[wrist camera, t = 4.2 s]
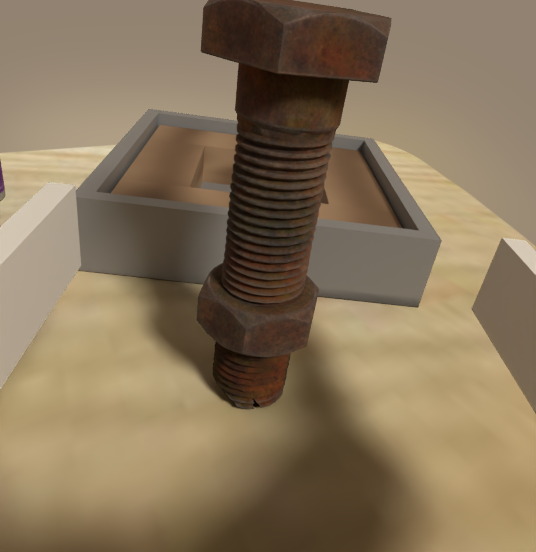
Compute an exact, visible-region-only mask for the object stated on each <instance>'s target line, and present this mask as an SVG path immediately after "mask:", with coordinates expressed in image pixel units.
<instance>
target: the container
mask: <svg viewBox="0 0 536 552" xmlns="http://www.w3.org/2000/svg"><path fill="white" fill-rule="evenodd" d="M4 196H5V188H4V181H3V175H2V168H1V161H0V201H1V200H2V199H3V198H4Z"/></svg>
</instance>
